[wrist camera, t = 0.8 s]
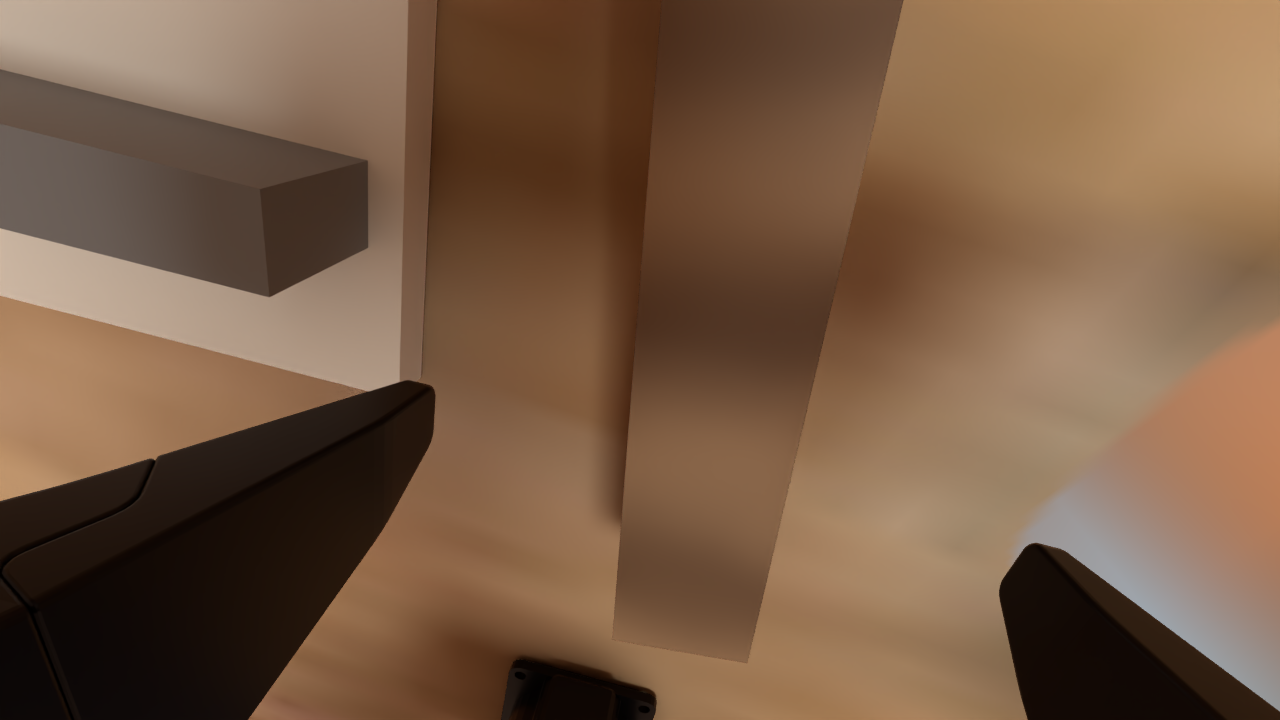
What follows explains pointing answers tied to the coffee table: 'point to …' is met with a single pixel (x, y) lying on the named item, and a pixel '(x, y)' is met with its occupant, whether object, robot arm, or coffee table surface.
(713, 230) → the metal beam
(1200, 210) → the coffee table surface
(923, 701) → the coffee table surface
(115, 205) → the fulcrum
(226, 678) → the robot arm
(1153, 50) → the coffee table surface
